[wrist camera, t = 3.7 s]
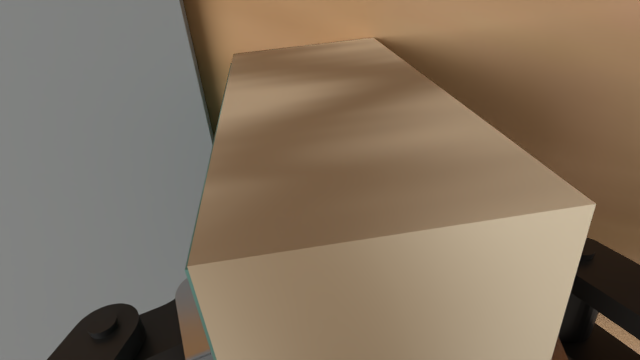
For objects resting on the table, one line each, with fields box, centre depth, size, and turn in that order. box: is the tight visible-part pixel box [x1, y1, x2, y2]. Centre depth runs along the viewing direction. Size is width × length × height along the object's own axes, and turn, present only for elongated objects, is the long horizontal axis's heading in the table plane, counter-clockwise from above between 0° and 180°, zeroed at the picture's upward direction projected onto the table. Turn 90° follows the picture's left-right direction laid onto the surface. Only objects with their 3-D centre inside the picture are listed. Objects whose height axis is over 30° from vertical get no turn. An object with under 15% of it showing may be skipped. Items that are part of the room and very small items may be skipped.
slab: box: [185, 38, 596, 360], centre depth 10 cm, size 4×9×9 cm, turn 5°
